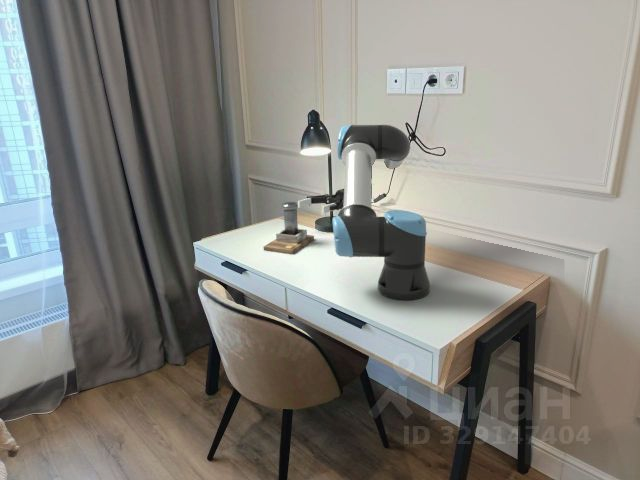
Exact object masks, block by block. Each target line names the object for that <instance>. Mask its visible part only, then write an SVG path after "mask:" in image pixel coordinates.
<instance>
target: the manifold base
mask: <svg viewBox="0 0 640 480" xmlns="http://www.w3.org/2000/svg"><path fill="white" fill-rule="evenodd" d="M307 231H308V230H307V229H302V228H298V234H297V235H296V236H295V235H287V234H285V228H284V229H283V230H280V231H279V232H277V233H276V234H275V235H276V236H275V238H276V239H275V238H274V240H272V241H270V242H269V243H267V244H266V245H264V246H263V251H265V252H266V251H267V252H274V253H279V254H280V253H281V254H288V255H294V254H295V253H296V252H298V251H300V250H301V249H302V248H303V247H305V246H307V245H308V244H309V243H311V242H313V241H314V240H315V235H311V234H308V233H307Z"/></svg>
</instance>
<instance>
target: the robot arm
mask: <svg viewBox="0 0 640 480" xmlns="http://www.w3.org/2000/svg"><path fill="white" fill-rule="evenodd" d="M410 150H411V143H410V139H409V137H408V136H407V134H406V133H405V132H404V131H403V130H401V129H399V128H398V127H396V126H394V125H389V124H351V125H343V126H342V127H341V128H340V130H339V133H338V139H337V151H336V153H337V158H338V159H339V160H341V161H342V163H343V165H344V166H345V168H344V169H345V170H344V188H341V189H338V190H336V192H335V193H334V194H331V195H332V198H330V195H329V193H326V194H320V195H309V196H306V198H305V199H300V200H297V203H298V209H301V208H304V207H307V206H309V207H310V206H311V205H313V204H315V205H317V204H325V205H323V206H321V213H322V214H326V213H330V212H334V211H338V214H337V215H336V216H334V217H332V230H333V231H332V232H333V241H334V248H335V249H334V250H335V251H334V252H335V253H336V255H338V257H346V258H351V259H352V258H364V257H365V258H383V259H384V260H383V267H382V269H381V272H380V275H379V278H378V280H377V290H378V292H379V293H380V295H383V296H385V297H387V298H390V299H393V300H399V301H400V300H401V301H413V300H418V299H422V298H424V297H426V296H427V295H428V294H430V291H431V290H430V288H431V287H430V286H431V283H430V282H431V281H430V279H429V276H428V273H427V270H426V266H425V264H426V263H425V262H426V239H427V235H428V233H427V222H426V219H425V218H424V217H423V216H422V215H421V214H419V213H416V212H413V211H409V210H403V209H392V210H391V209H389V210H387V211H385V213H384V216H377V213H376V211H375V210H374V209H373V207H372V201H373V200H372V199H373V198H372V184H373V183H372V181H373V179H372V165H373V164H374V162H375V161H377V160H383V161H384V163H385V165H386V167H387V168H389V169H394V168H397V167H399V166H400V165H401V164H402V162H403V161H405V159H407V157H408V155H409V154H410Z"/></svg>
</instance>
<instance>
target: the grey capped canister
mask: <svg viewBox="0 0 640 480" xmlns="http://www.w3.org/2000/svg"><path fill="white" fill-rule="evenodd" d="M281 207H282V208H281V209H282V211H283V221H284V222H283V224H284V225H283V226H284V229H285V234H287V235H295V236H296V235H297V234H298V229H299V227H298V223H299V222H298V209H299V208H298V202H296V201H286V202H282V203H281Z"/></svg>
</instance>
